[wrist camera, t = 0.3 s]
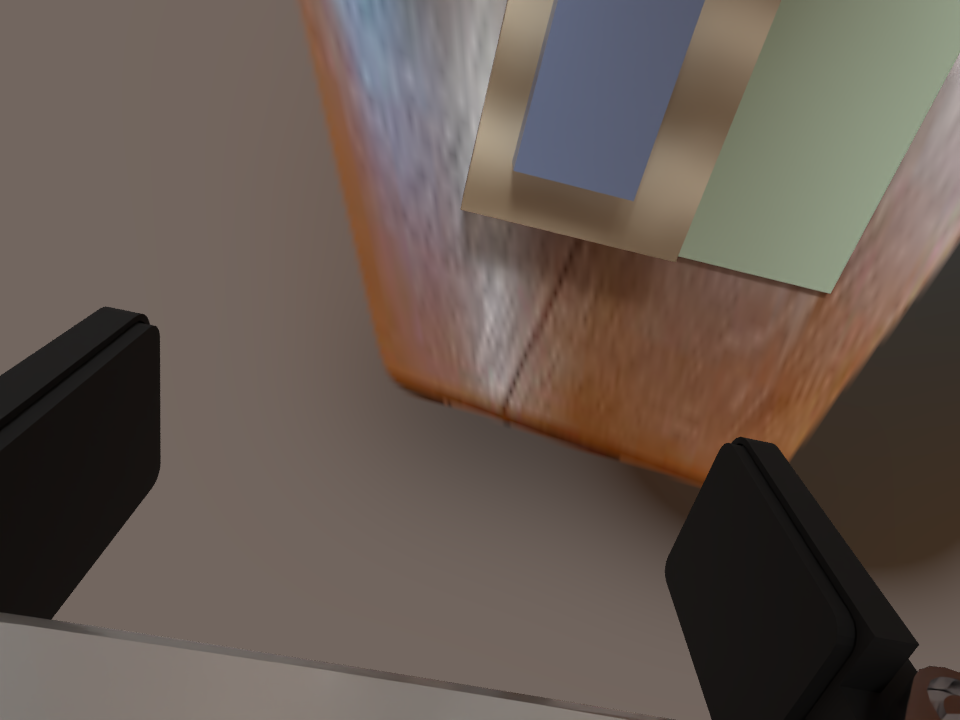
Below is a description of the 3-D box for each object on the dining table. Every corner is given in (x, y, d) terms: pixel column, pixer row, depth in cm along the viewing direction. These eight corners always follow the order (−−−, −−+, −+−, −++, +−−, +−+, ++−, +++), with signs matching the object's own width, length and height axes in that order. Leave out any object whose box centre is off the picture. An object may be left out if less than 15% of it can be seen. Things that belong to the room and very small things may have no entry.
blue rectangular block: (564, -43, 28) (570, -49, 26) (691, -6, 28) (708, -9, 26) (512, 161, 32) (513, 170, 30) (624, 190, 32) (633, 201, 30)
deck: (534, -117, 30) (539, -138, 26) (768, -47, 31) (804, -58, 27) (463, 192, 36) (460, 209, 33) (658, 241, 38) (675, 262, 34)
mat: (778, -57, 31) (782, -59, 30) (980, 3, 32) (986, 3, 31) (659, 250, 38) (661, 252, 38) (827, 291, 39) (830, 293, 39)
